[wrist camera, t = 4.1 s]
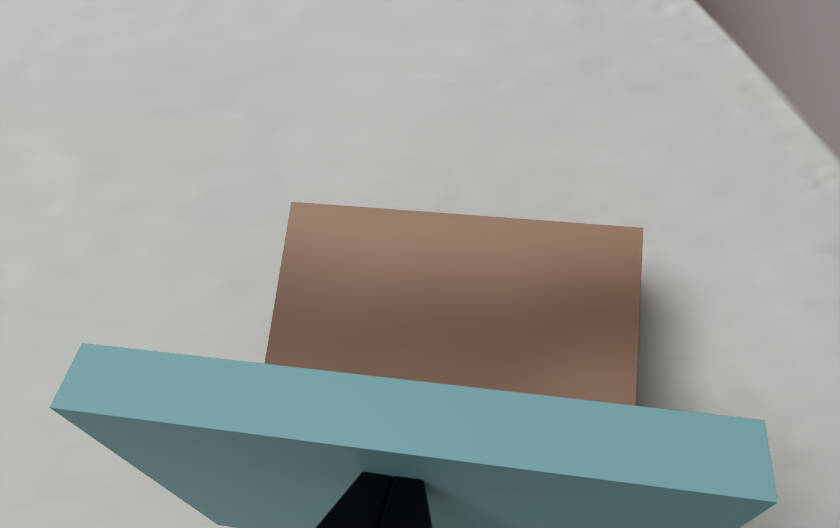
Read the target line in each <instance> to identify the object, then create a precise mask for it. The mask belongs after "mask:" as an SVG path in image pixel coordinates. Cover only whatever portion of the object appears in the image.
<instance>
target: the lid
mask: <svg viewBox="0 0 840 528" xmlns="http://www.w3.org/2000/svg"><path fill="white" fill-rule="evenodd" d="M50 408H51V409H52V410H54V411H55V412H57V413H58V414H60V415H61V416H63V417H64V418H65V419H67V420H68V421H70V422H71V423H73V424H74V425H75V426H77V427H78V428H80V429H81V430H83V431H84V432H85V433H87V434H88V435H90V436H91V437H93V438H94V439H96V440H97V441H98V442H100V443H101V444H103V445H104V446H106V447H107V448H108V449H110V450H111V451H113V452H114V453H116V454H117V455H119V456H120V457H121V458H123V459H124V460H126V461H127V462H129V463H130V464H131V465H133V466H134V467H136V468H137V469H139V470H140V471H142V472H143V473H144V474H146V475H147V476H149V477H150V478H152V479H153V480H154V481H156V482H157V483H159V484H160V485H162V486H163V487H164V488H166V489H167V490H169V491H170V492H172V493H173V494H175V495H176V496H177V497H179V498H180V499H182V500H183V501H185V502H186V503H187V504H189V505H190V506H192V507H193V508H195V509H196V510H198V511H199V512H200V513H202V514H203V515H205V516H206V517H208V518H209V519H210V520H212V521H213V522H215V523H216V524H218V525H223V526H229V527H236V528H316V526H317V525H318V524H319V523H320V522H321V520H322V519H323V518H324V517H325V516H326V514H327V513H328V512H329V511H330V510H331V508H332V507H333V506H334V505H335V504H336V502H337V501H338V500H339V499H340V498H341V496H342V495H343V494H344V493H345V492H346V490H347V489H348V488H349V487H350V485H351V484H352V483H353V482H354V481H355V479H356V478H357V477H358V476H359V475H360V473H361V472H370V473H378V474H385V475H390V476H392V477H394V476H400V477H407V478H414V479H421V480H424V481H425V487H426V493H427V498H428V504H429V510H430V515H431V521H432V527H433V528H740V527H741V526H743V525H744V524H746V523H747V522H749V521H750V520H752V519H753V518H755V517H756V516H758V515H759V514H761V513H762V512H764V511H765V510H767V509H768V508H770V507H771V506H773V505H774V504H776V503H777V496H776V489H775V483H774V476H773V470H772V464H771V457H770V451H769V444H768V438H767V431H766V425H765V420H757V419H748V418H739V417H731V416H722V415H713V414H704V413H695V412H686V411H678V410H669V409H660V408H651V407H642V406H633V405H625V404H616V403H607V402H598V401H589V400H580V399H572V398H563V397H554V396H545V395H536V394H527V393H519V392H510V391H501V390H492V389H483V388H474V387H466V386H457V385H448V384H439V383H430V382H421V381H412V380H404V379H395V378H386V377H377V376H368V375H359V374H351V373H342V372H333V371H324V370H315V369H306V368H298V367H289V366H280V365H271V364H262V363H253V362H245V361H236V360H227V359H218V358H209V357H200V356H192V355H183V354H174V353H165V352H156V351H147V350H139V349H130V348H121V347H112V346H103V345H94V344H85V343H82V344H81V346H80V348H79V350H78V352H77V354H76V356H75V358H74V360H73V362H72V364H71V366H70V368H69V370H68V372H67V374H66V376H65V378H64V380H63V382H62V384H61V386H60V388H59V390H58V392H57V394H56V396H55V398H54V400H53V402H52V404H51V406H50Z"/></svg>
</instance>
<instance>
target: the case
mask: <svg viewBox="0 0 840 528" xmlns="http://www.w3.org/2000/svg"><path fill="white" fill-rule="evenodd" d="M642 244H643V228H636V227H623V226H610V225H596V224H583V223H569V222H556V221H542V220H529V219H515V218H502V217H488V216H475V215H461V214H448V213H434V212H421V211H407V210H394V209H380V208H367V207H353V206H340V205H326V204H313V203H299V202H291V208H290V214H289V220H288V226H287V232H286V238H285V244H284V250H283V256H282V262H281V268H280V274H279V280H278V286H277V292H276V298H275V304H274V310H273V316H272V323H271V329H270V335H269V341H268V347H267V353H266V359H265V364H271V365H280V366H289V367H298V368H306V369H315V370H324V371H333V372H342V373H351V374H359V375H368V376H377V377H386V378H395V379H404V380H412V381H421V382H430V383H439V384H448V385H457V386H466V387H474V388H483V389H492V390H501V391H510V392H519V393H527V394H536V395H545V396H554V397H563V398H572V399H580V400H589V401H598V402H607V403H616V404H625V405H633V406H636V386H637V363H638V339H639V315H640V291H641V268H642Z"/></svg>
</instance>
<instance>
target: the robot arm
mask: <svg viewBox="0 0 840 528" xmlns="http://www.w3.org/2000/svg"><path fill="white" fill-rule="evenodd" d="M316 528H433V527H432V521H431V515H430V510H429V504H428V498H427V493H426V487H425V481H424V480H421V479H414V478H407V477H400V476H394V477H392V476H390V475H385V474H378V473H370V472H361V473H360V475H359V476H358V477H357V478H356V479H355V481H354V482H353V483H352V484H351V485H350V487H349V488H348V489H347V490H346V492H345V493H344V494H343V495H342V496H341V498H340V499H339V500H338V501H337V502H336V504H335V505H334V506H333V507H332V508H331V510H330V511H329V512H328V513H327V514H326V516H325V517H324V518H323V519H322V520H321V522H320V523H319V524H318V525H317V526H316Z"/></svg>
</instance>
